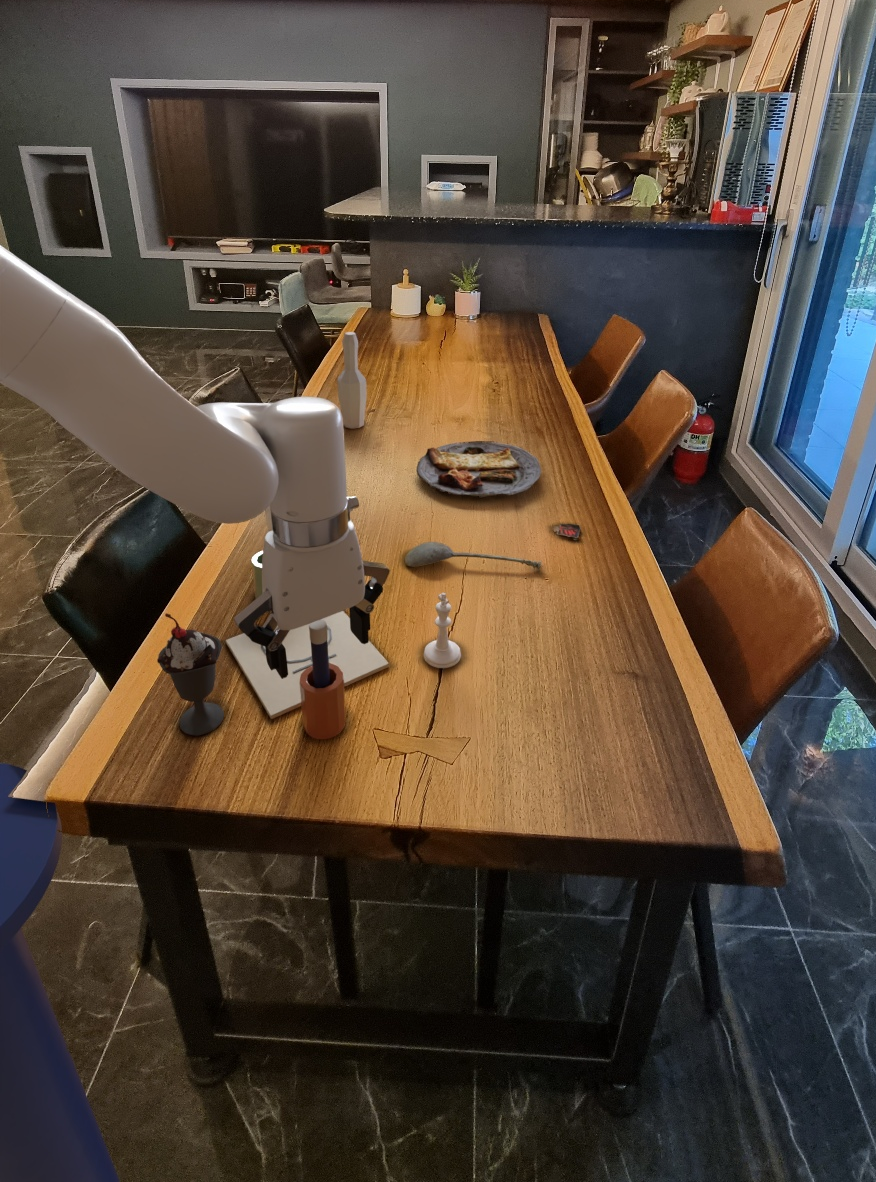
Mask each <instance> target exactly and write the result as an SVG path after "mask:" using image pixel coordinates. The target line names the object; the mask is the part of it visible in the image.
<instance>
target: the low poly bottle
mask: <svg viewBox="0 0 876 1182" xmlns="http://www.w3.org/2000/svg"><path fill="white" fill-rule="evenodd" d="M341 343H342V349H343V356H344V357H343V360H344V361H343V362H344V363H343V364H344V368H343V370H342V371H341V373H340V374H339V376H337V380H336V381H337V397H338V403H339V410H340V412H341V414H342V417H343V427H344V428H346V429H347V428H348V429H351V430H353V429H359V428H361V427H363V426H365V417H366V408H367V400H368V399H367V398H368V394H367V392H368V391H367V379H366V378H365V376H364V374H362V372H361V371H360V370H359V361H358V359H359V358H358V356H359V355H358V353H359V340H358V337H357V334H356V332H353V331H346V332H344V334H343V338H342V341H341Z"/></svg>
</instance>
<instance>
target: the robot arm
mask: <svg viewBox="0 0 876 1182" xmlns="http://www.w3.org/2000/svg"><path fill="white" fill-rule="evenodd" d="M0 384H1V385H2V386H4V387H6V388H8V389H10V390H11V391H13V392H15V393H17V394H18V395H20V396H22V397H24V398H25V399H27V400H29V401H30V402H32V403H34V404H35V405H37V406H38V407H40V408H41V409H43V410H44V412H46V413H47V414H48V415H50V416H51V418H53V419H54V421H56V422H57V423H58V424H59V425H61V426H62V427H63V428H64V429H65V430H66V431H67V432H69V433H70V434H71V435H73V436H74V437H76V438H77V439H78V440H80V441H81V442H82V443H83V444H85V445H86V446H87V447H88V448H90V449H91V450H92V451H93V452H95V453H96V454H97V455H98V456H100V458H102V459H103V460H105V461H106V462H107V463H108V464H110V465H111V466H112V467H114V468H115V469H116V470H117V471H119V472H120V473H121V474H123V475H124V476H126V477H127V478H129V479H130V480H131V481H134V482H135V483H136V484H138V485H139V486H141V487H143V488H145V489H146V490H148V491H150V492H151V493H153V494H155V495H157V496H159V497H161V498H163V499H164V500H166V501H168V502H170V503H172V504H173V505H176V506H177V507H179V508H181V509H183V510H185V511H186V512H188V513H191V514H192V515H194V516H196V517H199V518H201V519H204V520H207V521H210V522H214V523H217V524H228V525H230V524H241V523H245V522H248V521H250V520H252V519H255V518H257V517H258V516H260V515H262V514H263V513H265V510H266V509H267V508H268V507H269V505H270V509H271V519H272V528H273V530H272V531H270V532H269V531H268V532H266V534H265V535H264V540H263V547H262V551H263V557H262V593H263V594H262V595H260V596H259V597H258V598H257V599H256V598H255V599H254V600H253V601H252V602H250V604H248V605H247V606H246V607H245V608H243V609H242V610H241V611H240V612H239V613H238V614H236V615H235V616H234V618H233V622H234V623H235V624H236V626H237V628H238V629H239V630H240V631H241V632H242V634H243V633H244V634H245V635H246V636H248V637H249V638H250V639H251V641H252V642H255V643H257V644H260V645H262V646H265V651H266V659H267V663H268V666H269V668H270V669H271V670H274V669H276V671H277V672H278V674H279V675H280V677H281V678H282V679H283V678H286V677H287V675H288V667H287V657H286V649H285V647H284V645H283V644H282V642H283V640H284V639H285V637H286V636H287V634H288V633H289V631H290V630H292V629H296V628H299V627H302V626H305V625H307V624H310V623H313V622H315V621H318V620H321V619H323V618H326V617H328V616H331V615H333V614H336V613H339V612H341V611H344V612H345V610H346V611H347V610H348V609H349V618H350V629H351V632H352V633H353V634H354V635H355V636H356V638H357V639H358V640H359V641H360V642H361V643H362V644H366V643H368V642H369V641H370V640H369V638H370V637H369V631H370V630H371V613H372V612H374V610H375V605H374V604H375V603H376V602H377V600H378V599H379V597H380V596H381V595H382V593H383V592H384V585H385V584H386V581H387V579H388V577H389V575H390V571H391V570H390V568H389V567H388V566H387V565H385V563H382V562H375V561H368V560H363V556H362V551H361V546H360V542H359V538H358V534H357V530H356V528H355V525H354V523H353V521H352V520H351V512H353V511H354V510H355V509H358V508H359V507H360V501H359V499H358V497H357V496H356V495H352V496H348V489H347V486H348V485H347V467H346V449H345V430H344V429H345V427H344V425H343V417H342V414H341V409H340V407H338V406H337V405H336V404H335V403H334V402H332V401H331V400H328V399H326V398H323V397H318V396H294V397H288V398H284V399H280V400H278V401H275V402H225V401H224V402H223V401H222V402H209V403H204V404H200V405H197V406H196V405H195V404H193V403H191V402H190V401H189V400H188V399H186V397H184V396H183V395H182V394H181V393H179V392H178V391H177V390H176V389H175V388H174V387H172V386H171V385H170V384H169V383H168V382H167V381H165V380H164V379H163V378H162V377H161V376H160V375H159V373H157V372H156V371H155V370H154V368H152V367H151V366H150V365H149V362H147V361H146V360H145V358H144V357H143V356H142V355H141V354H140V353H139V351H138V350H137V349H136V348H135V346H134V345H133V344H132V342H131V341H130V340H129V338H127V336H126V335H125V334H124V333H123V332H122V331H121V330H120V329H119V328H118V327H117V326H116V325H115V324H114V323H113V322H112V321H111V320H110V319H108V317H106V316H105V315H103V313H100V312H99V311H98V310H97V309H95V308H93V307H92V306H90V305H89V304H87V303H86V302H85V301H83V300H82V299H80V298H78V297H77V296H75V294H72V293H71V292H69V291H68V290H66V289H65V288H63V287H61V285H60V284H58V283H56V282H54V281H53V280H52V279H51V278H49V277H47V276H46V275H44V274H43V273H41V272H40V271H38V270H37V269H36V268H34V267H32V266H31V265H29V264H28V263H27V262H26V261H24V260H23V259H21V258H19V257H18V256H17V255H15V254H14V253H12V251H9V250H8V249H7V248H5V247H4V246H2V245H1V244H0ZM366 576H367V577H370V579H369V580H368V581H367V582H366V578H365V577H366ZM266 613H267V614H269V616H268V617H267V618H266V620H265V622H264V623H263V625H262V626H261V625H259V624H257V623H256V622H257V621H258V620H259V619H260V618H262V617H263V616H264V615H265V614H266ZM277 625H278V627H277ZM276 627H277V629H276V630H275V628H276ZM274 630H275V632H274Z"/></svg>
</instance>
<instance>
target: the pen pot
mask: <svg viewBox="0 0 876 1182" xmlns="http://www.w3.org/2000/svg"><path fill="white" fill-rule="evenodd" d="M329 673H330V686H328V687H325V688H315V687H314V678H313V665H312V666H310V667H308V668H306V670H305V671H304V672H303V673H302V674H301V676H300V693H301V704H302V706H301V715H302V724H303V729H304V731H305V733H306V735H308V736H309V737H311V738H313V739H316V740H328V739H332V738H334V737H336V736H338V735H339V734H340V733H341V732H342V731H343V730H344V728H345V726H346V721H347V720H346V718H347V717H346V716H347V715H346V714H347V713H346V695H345V687H344V675H343V672H342V670H341V669H340V668H339V667H338V666H337V665H334V664H331V663H329Z"/></svg>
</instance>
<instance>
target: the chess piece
mask: <svg viewBox="0 0 876 1182" xmlns="http://www.w3.org/2000/svg"><path fill="white" fill-rule="evenodd" d="M437 596H438V599H439V600H440V601H439V602H437V603H436V604H435V611H436V613H437V617H436V618H435V619H434V624H435V625H436V626H437V627H438V631H437V637H436V639H435V640H432V641H430V642H428V644H426V646H425V648H424V652H423V658H424V661H425V662H426V663H427V664H428V665H430V666H432V667H434V668H437V669H448V668H451V667H453V666H455V665H457V664H458V663H459V662H460V661H461V658H462V654H461V648H460V647H459V645H458V644H457V643H456V642H454V641H452V640H450V639H449V635H448V627H449V626H451V624H452V620H451V618H450V617H449V614H450V612H451V610H452V606H451V604H450V600H449V599H448V598H447V593H446V592H442V593H440V594H438V595H437Z"/></svg>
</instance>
